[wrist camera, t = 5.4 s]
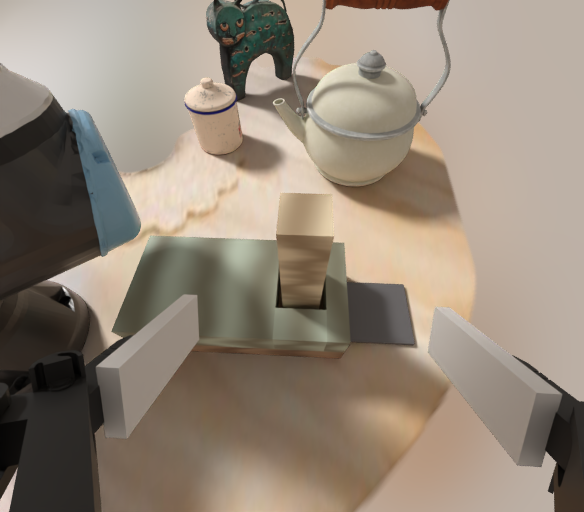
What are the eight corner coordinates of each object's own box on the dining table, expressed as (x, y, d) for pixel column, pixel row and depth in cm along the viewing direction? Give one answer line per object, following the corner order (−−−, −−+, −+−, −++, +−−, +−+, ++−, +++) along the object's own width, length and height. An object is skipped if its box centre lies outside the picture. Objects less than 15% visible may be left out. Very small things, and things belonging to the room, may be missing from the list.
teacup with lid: (252, 144, 55) (243, 81, 45) (213, 162, 52) (194, 100, 42) (222, 117, 60) (208, 55, 50) (184, 132, 57) (161, 71, 47)
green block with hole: (143, 348, 33) (111, 331, 27) (171, 264, 40) (150, 235, 34) (340, 358, 33) (350, 342, 27) (336, 270, 39) (344, 242, 33)
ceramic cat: (232, 106, 62) (209, -14, 45) (217, 95, 65) (189, -23, 48) (298, 78, 69) (299, -36, 52) (282, 69, 71) (278, -43, 55)
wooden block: (283, 314, 32) (276, 234, 19) (285, 284, 35) (280, 192, 21) (317, 316, 32) (333, 236, 19) (317, 286, 34) (332, 194, 21)
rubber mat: (347, 341, 34) (348, 340, 33) (344, 283, 38) (344, 282, 38) (413, 345, 33) (414, 343, 33) (402, 286, 38) (403, 284, 37)
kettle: (400, 133, 56) (464, -43, 35) (418, 198, 47) (521, 8, 25) (279, 130, 57) (271, -44, 36) (272, 194, 47) (256, 6, 26)
